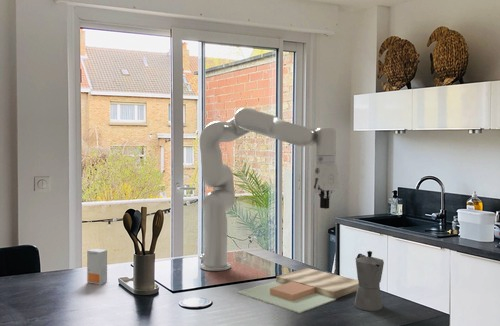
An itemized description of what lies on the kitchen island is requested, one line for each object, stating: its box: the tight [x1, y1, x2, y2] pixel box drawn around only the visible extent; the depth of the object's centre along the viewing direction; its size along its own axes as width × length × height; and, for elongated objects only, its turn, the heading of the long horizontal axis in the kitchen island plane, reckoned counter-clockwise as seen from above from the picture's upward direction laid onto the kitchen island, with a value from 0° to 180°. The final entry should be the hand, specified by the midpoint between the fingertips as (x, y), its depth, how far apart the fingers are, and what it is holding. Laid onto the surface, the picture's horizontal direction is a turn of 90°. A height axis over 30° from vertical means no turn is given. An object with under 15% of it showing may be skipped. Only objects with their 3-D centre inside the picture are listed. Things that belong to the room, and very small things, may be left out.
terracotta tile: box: [270, 282, 315, 301], centre depth 179 cm, size 10×12×2 cm
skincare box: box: [86, 248, 108, 286], centre depth 191 cm, size 6×4×12 cm
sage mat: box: [236, 280, 337, 314], centre depth 177 cm, size 28×19×1 cm
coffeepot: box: [354, 250, 385, 312], centre depth 169 cm, size 15×9×18 cm, turn 13°
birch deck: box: [275, 267, 358, 300], centre depth 190 cm, size 26×18×2 cm
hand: (324, 208), depth 199 cm, fingers closed
